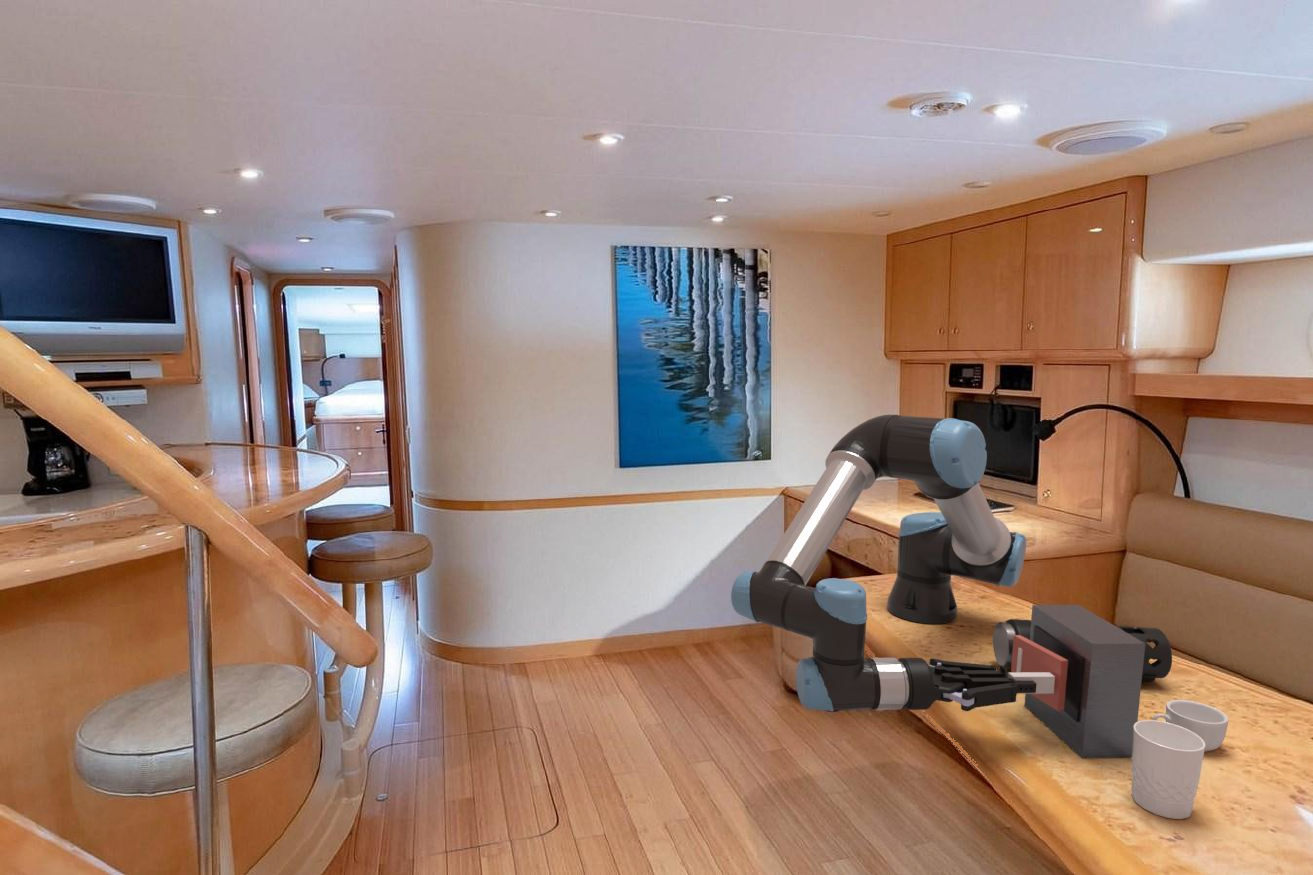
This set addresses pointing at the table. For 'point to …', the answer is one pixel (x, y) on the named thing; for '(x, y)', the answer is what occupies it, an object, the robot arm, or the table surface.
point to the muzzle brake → (1162, 648)
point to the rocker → (1041, 668)
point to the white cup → (1165, 768)
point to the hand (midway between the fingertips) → (1051, 682)
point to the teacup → (1198, 720)
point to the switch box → (1090, 680)
